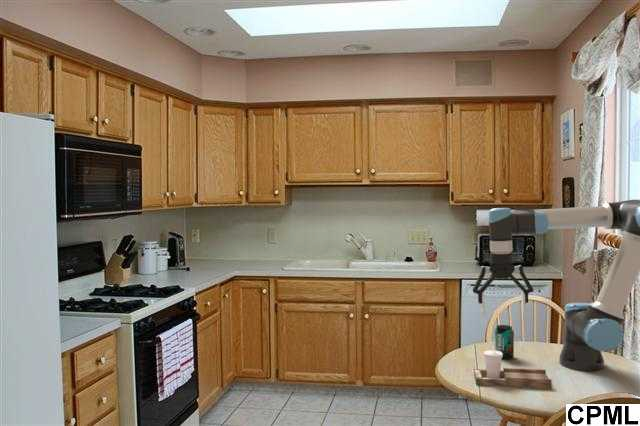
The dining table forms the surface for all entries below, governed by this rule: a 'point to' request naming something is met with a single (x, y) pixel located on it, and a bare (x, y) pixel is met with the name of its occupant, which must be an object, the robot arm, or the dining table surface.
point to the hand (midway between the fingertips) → (503, 312)
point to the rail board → (515, 378)
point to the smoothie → (493, 363)
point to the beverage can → (504, 341)
